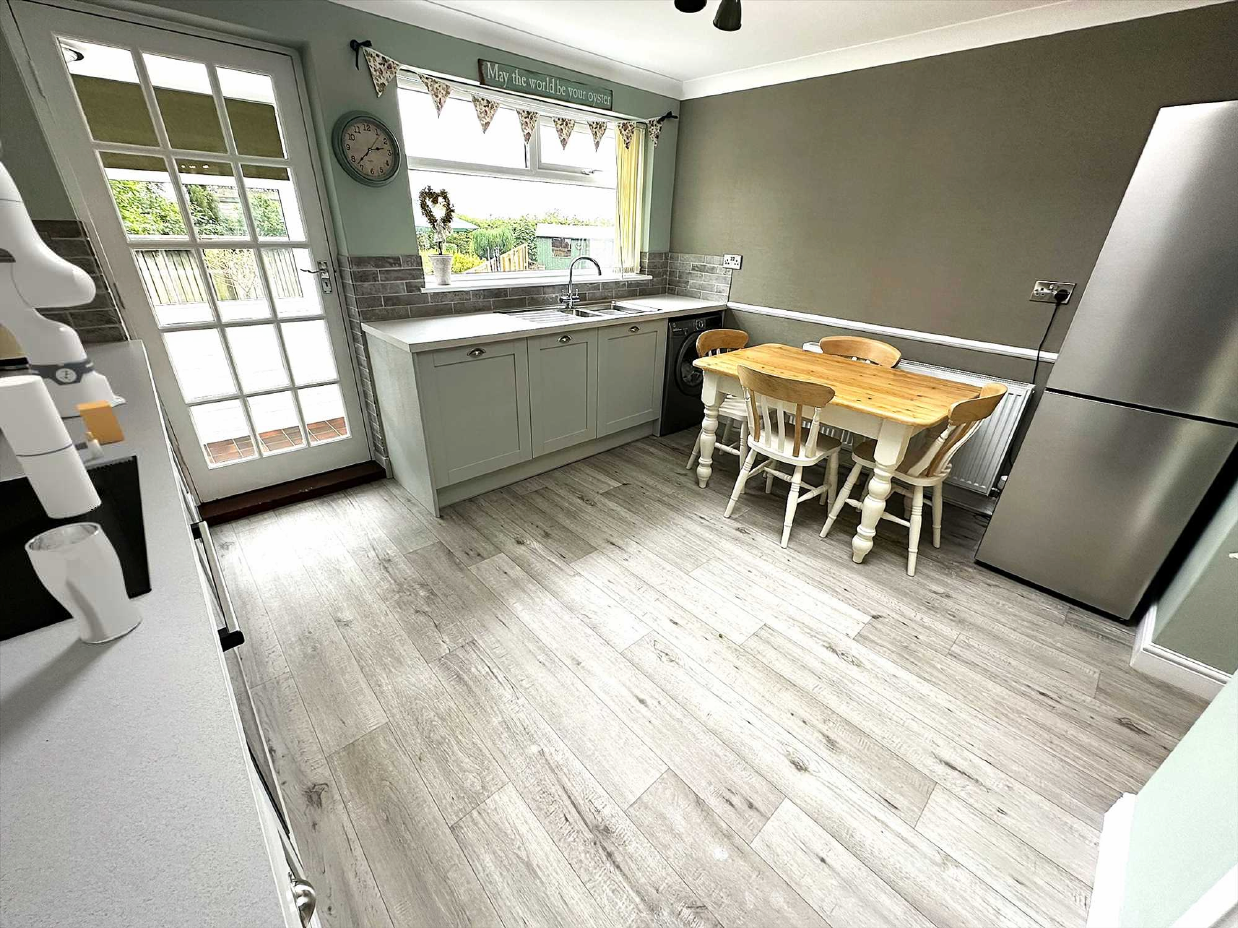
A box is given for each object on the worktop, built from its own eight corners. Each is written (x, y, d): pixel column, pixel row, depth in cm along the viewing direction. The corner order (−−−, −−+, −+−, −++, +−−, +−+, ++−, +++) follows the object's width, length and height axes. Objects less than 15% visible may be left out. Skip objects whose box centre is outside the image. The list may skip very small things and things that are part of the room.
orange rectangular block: (92, 439, 123) (76, 405, 119) (121, 433, 127) (107, 400, 123) (95, 445, 120) (78, 410, 116) (125, 439, 124) (110, 405, 120)
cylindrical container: (67, 520, 91) (-2, 388, 80) (37, 515, 92) (-35, 385, 81) (111, 501, 97) (52, 377, 86) (82, 497, 98) (20, 374, 87)
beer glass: (76, 626, 68) (23, 534, 61) (144, 603, 72) (101, 515, 66) (77, 655, 63) (20, 560, 57) (149, 628, 68) (103, 537, 61)
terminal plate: (65, 457, 114) (63, 453, 113) (124, 445, 121) (122, 441, 120) (71, 473, 107) (69, 469, 106) (133, 459, 114) (131, 455, 113)
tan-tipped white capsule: (92, 457, 112) (81, 432, 109) (103, 454, 113) (92, 430, 111) (93, 459, 111) (82, 434, 108) (104, 457, 112) (93, 432, 110)
